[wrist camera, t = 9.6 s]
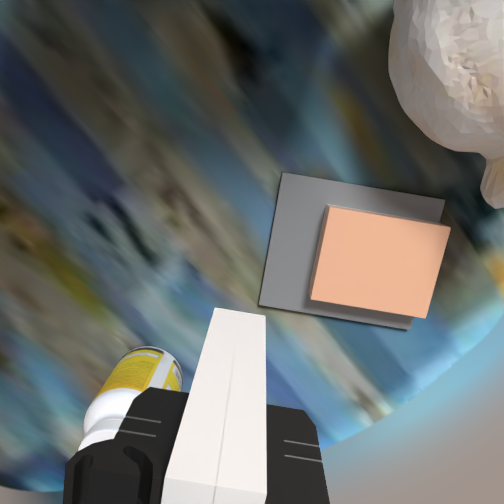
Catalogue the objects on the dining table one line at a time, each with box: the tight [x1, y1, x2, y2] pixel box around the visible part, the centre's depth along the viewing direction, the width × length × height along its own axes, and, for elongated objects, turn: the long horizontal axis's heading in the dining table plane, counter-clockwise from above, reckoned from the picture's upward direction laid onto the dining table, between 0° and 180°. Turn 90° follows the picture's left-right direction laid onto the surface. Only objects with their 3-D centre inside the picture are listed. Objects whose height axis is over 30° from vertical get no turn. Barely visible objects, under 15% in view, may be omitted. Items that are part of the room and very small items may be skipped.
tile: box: [308, 204, 451, 318], centre depth 37 cm, size 2×8×10 cm
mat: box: [259, 172, 445, 330], centre depth 38 cm, size 14×12×1 cm
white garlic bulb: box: [388, 0, 504, 209], centre depth 27 cm, size 16×19×15 cm
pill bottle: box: [78, 346, 183, 451], centre depth 36 cm, size 6×6×12 cm
